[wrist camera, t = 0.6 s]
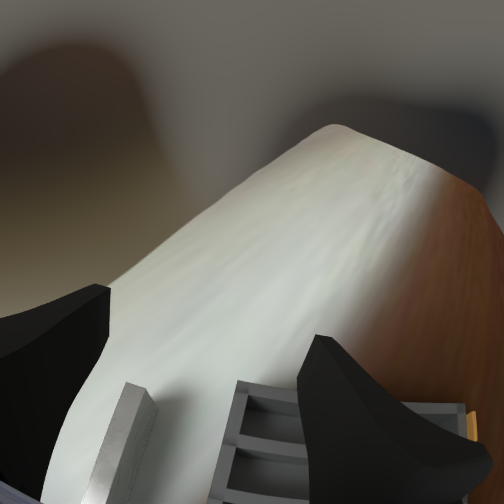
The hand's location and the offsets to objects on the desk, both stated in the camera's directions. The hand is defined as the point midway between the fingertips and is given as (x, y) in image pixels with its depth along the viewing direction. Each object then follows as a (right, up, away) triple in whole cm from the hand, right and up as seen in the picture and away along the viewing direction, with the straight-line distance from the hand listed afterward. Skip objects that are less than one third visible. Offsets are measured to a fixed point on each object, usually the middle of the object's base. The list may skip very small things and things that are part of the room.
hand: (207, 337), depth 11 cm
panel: (-8, -14, +10) cm, 19 cm away
